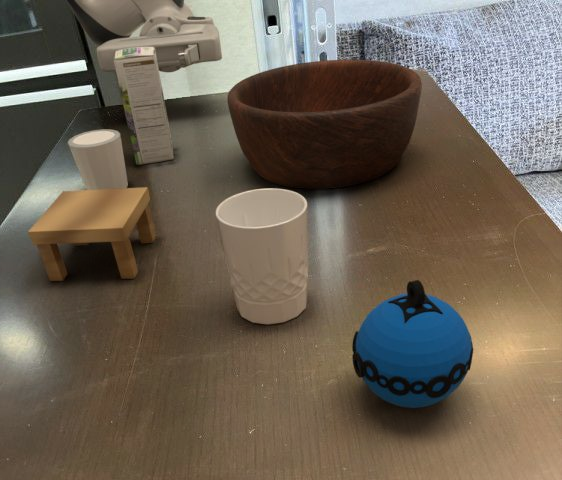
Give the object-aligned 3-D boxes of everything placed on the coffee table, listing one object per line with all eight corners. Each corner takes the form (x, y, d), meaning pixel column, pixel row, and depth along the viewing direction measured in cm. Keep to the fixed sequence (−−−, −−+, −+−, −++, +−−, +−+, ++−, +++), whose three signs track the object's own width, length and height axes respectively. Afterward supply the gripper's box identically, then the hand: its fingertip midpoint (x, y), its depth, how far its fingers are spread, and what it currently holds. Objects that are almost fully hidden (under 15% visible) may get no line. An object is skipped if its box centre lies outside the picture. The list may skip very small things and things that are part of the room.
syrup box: (136, 153, 96) (112, 50, 87) (174, 147, 97) (154, 44, 88) (136, 166, 92) (110, 58, 83) (176, 160, 92) (155, 52, 83)
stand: (46, 282, 67) (27, 231, 63) (78, 239, 75) (62, 191, 71) (136, 280, 66) (122, 227, 62) (159, 235, 73) (147, 186, 70)
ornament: (489, 415, 46) (508, 299, 39) (380, 445, 44) (382, 330, 38) (434, 350, 52) (443, 241, 46) (337, 374, 51) (334, 266, 44)
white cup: (214, 309, 60) (196, 211, 54) (273, 275, 64) (263, 181, 58) (271, 339, 55) (258, 236, 49) (330, 301, 59) (326, 201, 53)
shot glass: (106, 175, 90) (93, 126, 85) (142, 182, 87) (130, 130, 82) (72, 194, 86) (56, 143, 81) (108, 201, 82) (94, 148, 78)
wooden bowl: (267, 216, 75) (258, 129, 68) (218, 151, 94) (207, 78, 87) (453, 174, 80) (460, 89, 73) (370, 121, 98) (371, 49, 92)
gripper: (102, 28, 106) (82, 46, 95) (221, 16, 105) (214, 33, 94) (111, 68, 110) (93, 90, 99) (226, 56, 109) (220, 77, 98)
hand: (153, 62), depth 97 cm, fingers open, 8 cm apart
